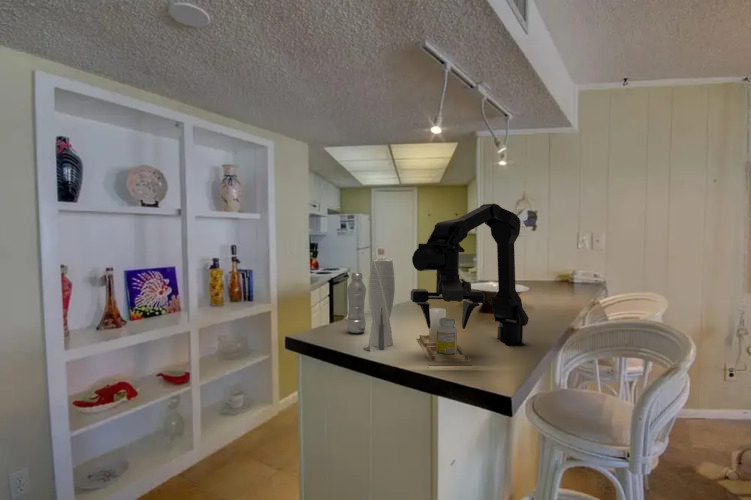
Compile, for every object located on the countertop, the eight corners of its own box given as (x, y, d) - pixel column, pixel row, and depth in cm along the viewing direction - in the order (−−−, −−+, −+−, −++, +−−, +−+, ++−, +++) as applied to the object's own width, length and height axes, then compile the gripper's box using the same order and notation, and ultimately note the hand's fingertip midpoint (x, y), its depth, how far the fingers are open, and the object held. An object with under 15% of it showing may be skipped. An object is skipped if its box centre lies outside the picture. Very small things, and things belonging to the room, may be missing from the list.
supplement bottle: (450, 359, 101) (451, 322, 101) (432, 355, 105) (433, 319, 104) (460, 355, 105) (461, 319, 105) (442, 351, 109) (443, 316, 108)
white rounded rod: (443, 340, 120) (444, 307, 119) (447, 345, 115) (447, 310, 114) (427, 340, 119) (428, 307, 119) (430, 345, 114) (431, 310, 114)
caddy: (451, 342, 122) (451, 334, 122) (472, 365, 100) (472, 356, 100) (416, 342, 122) (416, 334, 122) (428, 365, 100) (429, 356, 100)
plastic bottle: (344, 334, 130) (345, 274, 130) (349, 330, 137) (349, 272, 136) (363, 335, 129) (364, 274, 128) (367, 331, 136) (368, 272, 135)
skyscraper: (359, 348, 114) (361, 251, 113) (378, 343, 120) (380, 251, 119) (381, 354, 108) (383, 252, 108) (400, 349, 114) (401, 252, 114)
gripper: (416, 271, 96) (415, 335, 96) (493, 272, 97) (491, 336, 97) (410, 268, 107) (409, 325, 107) (479, 269, 108) (477, 326, 108)
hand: (446, 328), depth 105 cm, fingers open, 9 cm apart
